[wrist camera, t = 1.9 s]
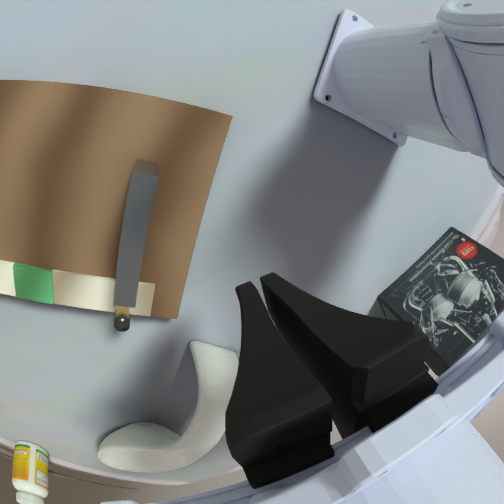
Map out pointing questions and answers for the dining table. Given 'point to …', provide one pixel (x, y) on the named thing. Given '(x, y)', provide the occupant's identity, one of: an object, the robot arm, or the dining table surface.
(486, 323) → the small box
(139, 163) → the pad
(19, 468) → the supplement bottle
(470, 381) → the robot arm
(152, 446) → the spoon rest
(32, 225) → the board
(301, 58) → the dining table surface
